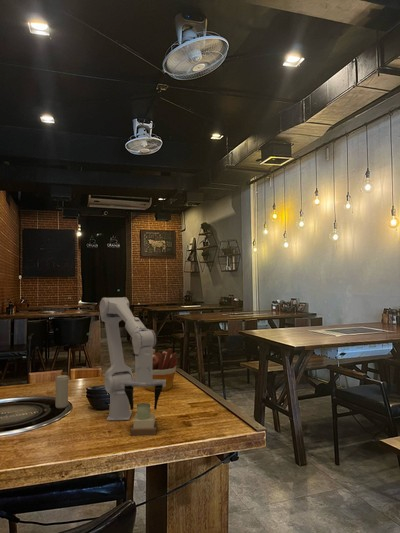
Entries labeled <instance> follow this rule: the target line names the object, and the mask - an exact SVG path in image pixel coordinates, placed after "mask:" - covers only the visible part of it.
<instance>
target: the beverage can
mask: <svg viewBox="0 0 400 533" xmlns="http://www.w3.org/2000/svg"><path fill="white" fill-rule="evenodd" d="M54 399H55V408H56V409H64V408H67V407H68V405H69V375H66V374H63V375H57V376H56V377H55V398H54Z"/></svg>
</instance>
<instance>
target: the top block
mask: <svg viewBox="0 0 400 533" xmlns="http://www.w3.org/2000/svg"><path fill="white" fill-rule="evenodd" d="M155 417H156V414H155V413H150V418H149V419H145V420H140V419H137V413H135V415H134V417H133V421H132V422H133V423H132V425H133V429H138V428H154V423H155V421H156V418H155Z"/></svg>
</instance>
